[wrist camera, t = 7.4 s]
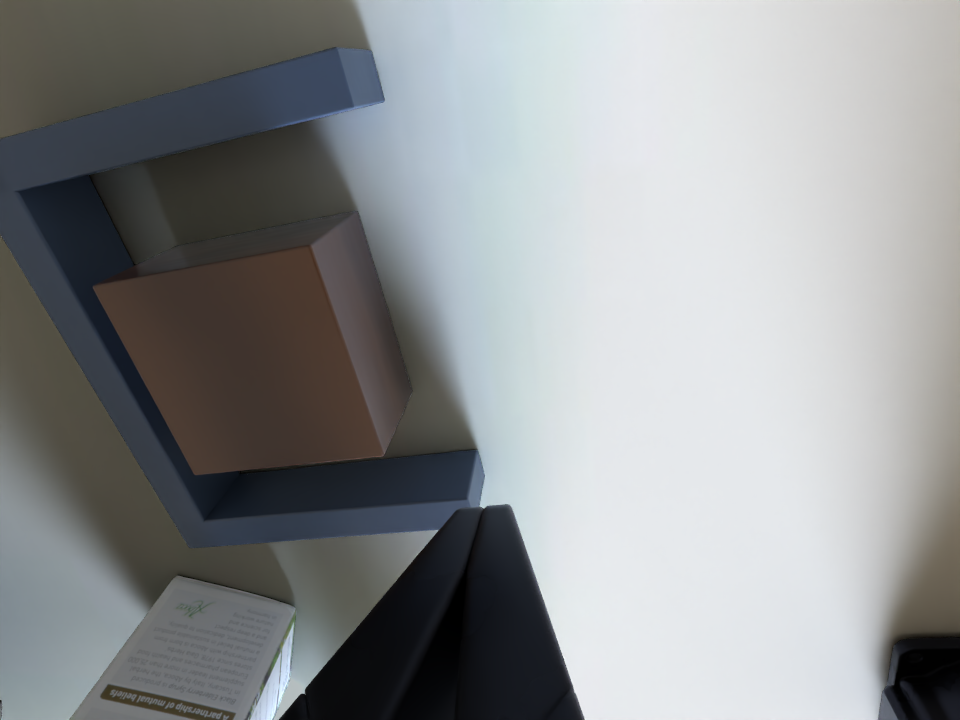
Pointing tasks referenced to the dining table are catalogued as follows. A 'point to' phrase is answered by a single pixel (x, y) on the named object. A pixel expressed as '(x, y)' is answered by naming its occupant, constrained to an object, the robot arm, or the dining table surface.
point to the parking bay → (101, 254)
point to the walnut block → (265, 345)
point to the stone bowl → (0, 709)
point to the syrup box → (199, 659)
